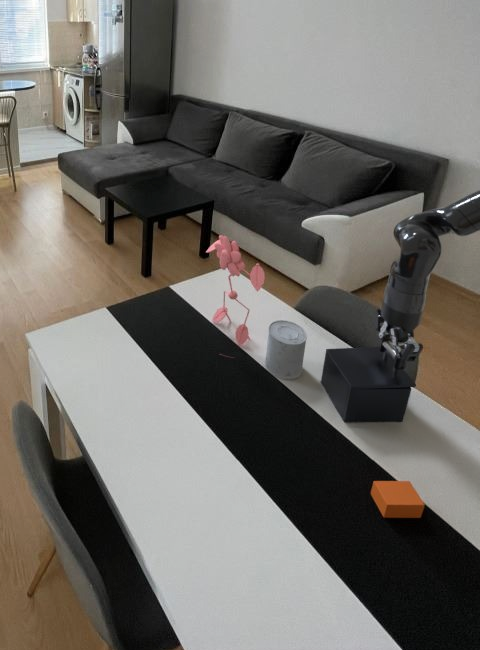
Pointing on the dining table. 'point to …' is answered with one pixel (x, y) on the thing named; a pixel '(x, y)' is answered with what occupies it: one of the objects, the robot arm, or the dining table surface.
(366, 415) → the bin
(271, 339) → the grey tin can
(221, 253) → the figurine
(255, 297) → the dining table surface
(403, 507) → the block
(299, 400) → the dining table surface
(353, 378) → the bin lid
